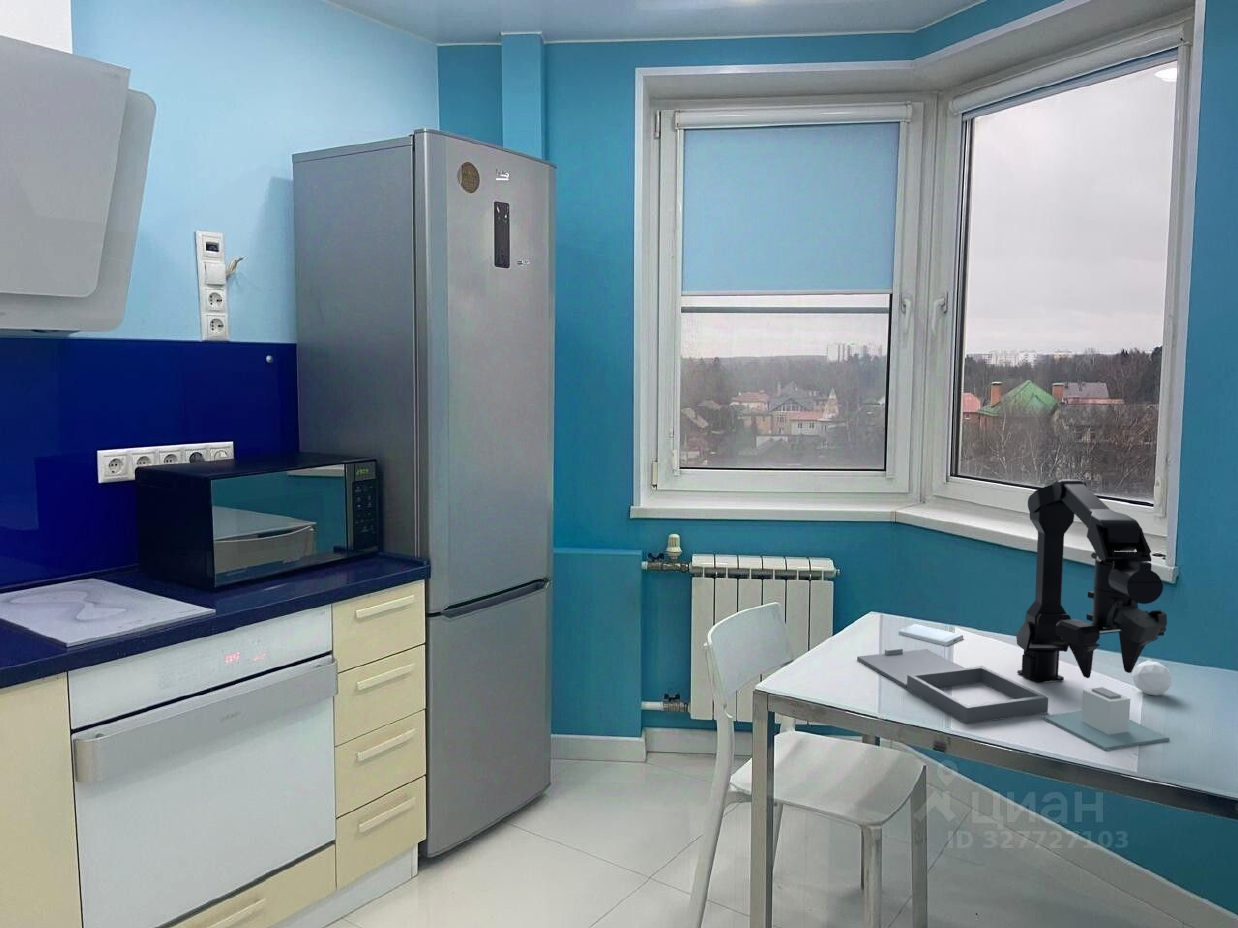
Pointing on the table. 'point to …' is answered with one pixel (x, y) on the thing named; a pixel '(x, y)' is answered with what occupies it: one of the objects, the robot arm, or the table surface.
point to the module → (1105, 710)
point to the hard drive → (931, 634)
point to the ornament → (1152, 678)
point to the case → (933, 670)
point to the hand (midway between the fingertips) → (1107, 674)
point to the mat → (1102, 740)
